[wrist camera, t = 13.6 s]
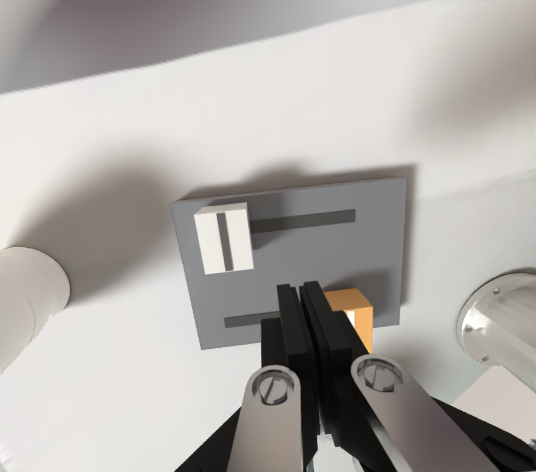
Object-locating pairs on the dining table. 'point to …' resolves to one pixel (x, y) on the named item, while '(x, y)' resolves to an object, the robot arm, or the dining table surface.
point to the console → (298, 253)
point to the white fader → (225, 238)
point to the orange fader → (354, 311)
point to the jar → (27, 298)
